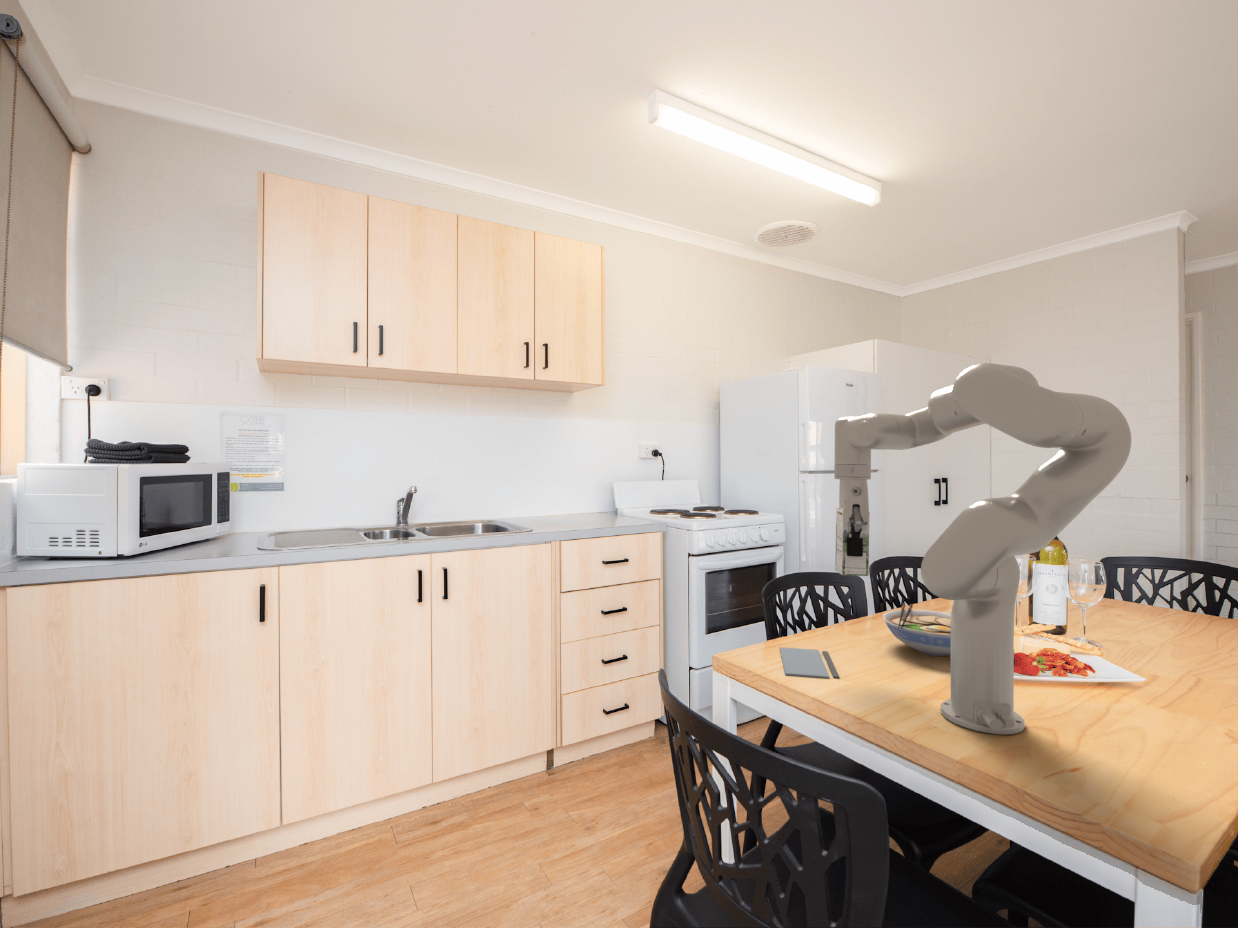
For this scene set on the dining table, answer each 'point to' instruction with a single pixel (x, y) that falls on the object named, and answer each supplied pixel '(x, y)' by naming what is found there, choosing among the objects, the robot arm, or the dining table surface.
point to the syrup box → (844, 562)
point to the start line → (830, 664)
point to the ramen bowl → (921, 629)
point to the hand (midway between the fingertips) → (851, 552)
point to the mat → (803, 662)
